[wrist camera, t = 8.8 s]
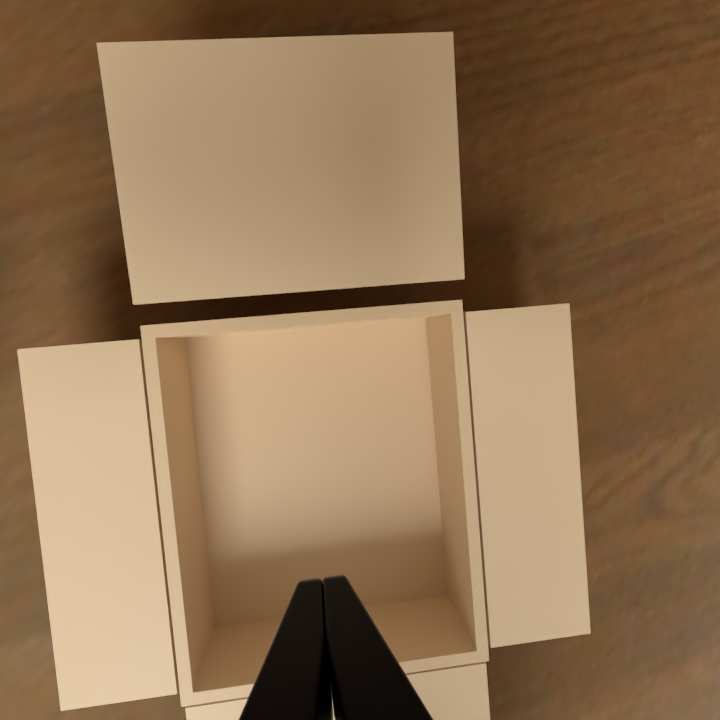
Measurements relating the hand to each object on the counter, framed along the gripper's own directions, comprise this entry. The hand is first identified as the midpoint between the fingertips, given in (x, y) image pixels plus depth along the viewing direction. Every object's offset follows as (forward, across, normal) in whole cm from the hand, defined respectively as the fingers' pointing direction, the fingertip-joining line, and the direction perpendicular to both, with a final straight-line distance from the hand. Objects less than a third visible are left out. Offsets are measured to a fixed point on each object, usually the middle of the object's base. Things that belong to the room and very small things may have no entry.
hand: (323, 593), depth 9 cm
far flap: (+8, 0, -3) cm, 9 cm away
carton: (+9, 0, +7) cm, 11 cm away
